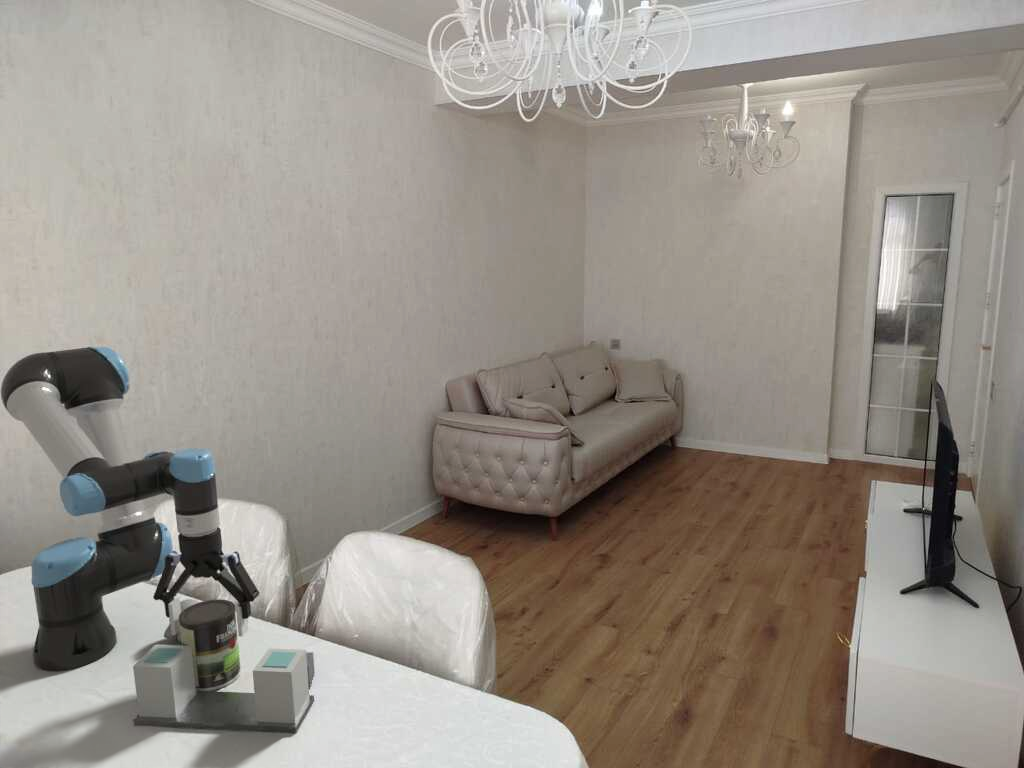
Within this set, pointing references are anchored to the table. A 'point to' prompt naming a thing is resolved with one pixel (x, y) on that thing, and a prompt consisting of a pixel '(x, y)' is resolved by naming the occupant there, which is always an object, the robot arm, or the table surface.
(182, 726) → the rail plate
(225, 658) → the coffee can
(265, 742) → the table surface
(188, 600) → the chubby cartoon animal
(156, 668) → the mounted module
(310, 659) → the charcoal block
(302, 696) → the block
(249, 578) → the robot arm
